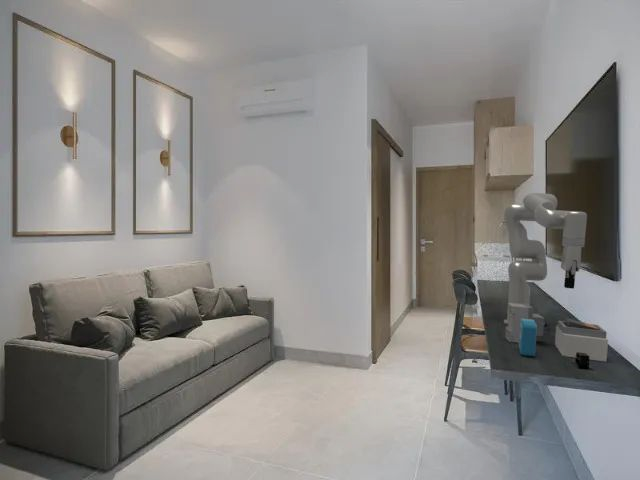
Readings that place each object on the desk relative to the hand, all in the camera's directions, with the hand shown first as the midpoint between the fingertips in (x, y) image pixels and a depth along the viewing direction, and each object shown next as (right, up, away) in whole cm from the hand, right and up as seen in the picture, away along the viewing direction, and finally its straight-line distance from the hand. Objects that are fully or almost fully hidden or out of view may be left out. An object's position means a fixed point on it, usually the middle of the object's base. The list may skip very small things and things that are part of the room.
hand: (569, 287), depth 167 cm
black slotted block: (-8, -26, -21) cm, 34 cm away
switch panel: (0, -25, -6) cm, 25 cm away
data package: (-21, -24, -9) cm, 33 cm away
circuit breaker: (-14, -24, +7) cm, 28 cm away
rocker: (+1, -15, -6) cm, 16 cm away
